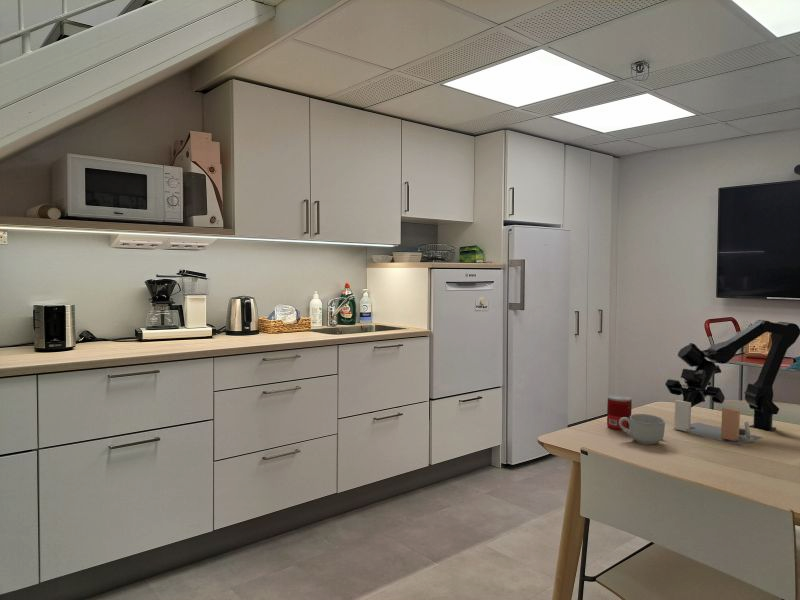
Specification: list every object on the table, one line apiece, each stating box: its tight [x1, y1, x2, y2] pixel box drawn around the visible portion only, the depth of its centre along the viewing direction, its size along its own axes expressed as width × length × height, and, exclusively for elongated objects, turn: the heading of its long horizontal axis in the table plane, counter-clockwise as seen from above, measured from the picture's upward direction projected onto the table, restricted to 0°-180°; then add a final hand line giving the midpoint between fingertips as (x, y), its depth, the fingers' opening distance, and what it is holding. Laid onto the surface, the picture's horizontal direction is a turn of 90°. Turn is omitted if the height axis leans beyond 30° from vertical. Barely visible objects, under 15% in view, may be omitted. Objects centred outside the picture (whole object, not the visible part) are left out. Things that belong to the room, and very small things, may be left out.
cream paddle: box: [673, 399, 692, 432], centre depth 195 cm, size 3×5×10 cm, turn 34°
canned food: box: [606, 394, 633, 431], centre depth 201 cm, size 8×8×11 cm
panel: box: [672, 421, 764, 446], centre depth 192 cm, size 16×22×7 cm
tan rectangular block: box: [720, 407, 741, 441], centre depth 185 cm, size 3×5×10 cm, turn 34°
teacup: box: [619, 413, 666, 446], centre depth 185 cm, size 14×11×8 cm
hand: (684, 409), depth 195 cm, fingers closed, pressing on cream paddle
